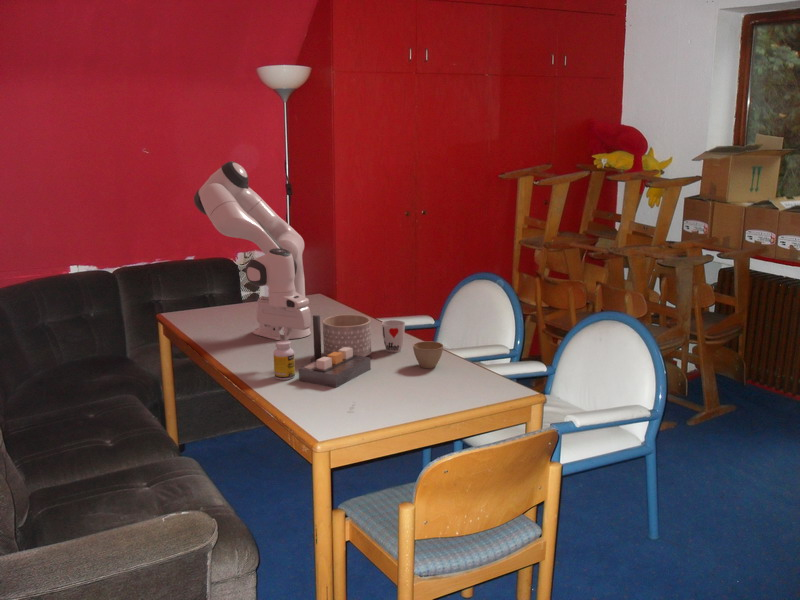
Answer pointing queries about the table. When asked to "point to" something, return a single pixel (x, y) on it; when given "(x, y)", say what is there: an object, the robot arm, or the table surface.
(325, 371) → the dark grey slotted tray
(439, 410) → the table surface
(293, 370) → the pill bottle
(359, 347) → the planter
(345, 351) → the pale pink brick
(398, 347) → the cup
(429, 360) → the flower pot
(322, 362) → the light pink block
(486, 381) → the table surface
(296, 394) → the table surface
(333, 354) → the orange block
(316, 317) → the post
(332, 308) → the table surface
